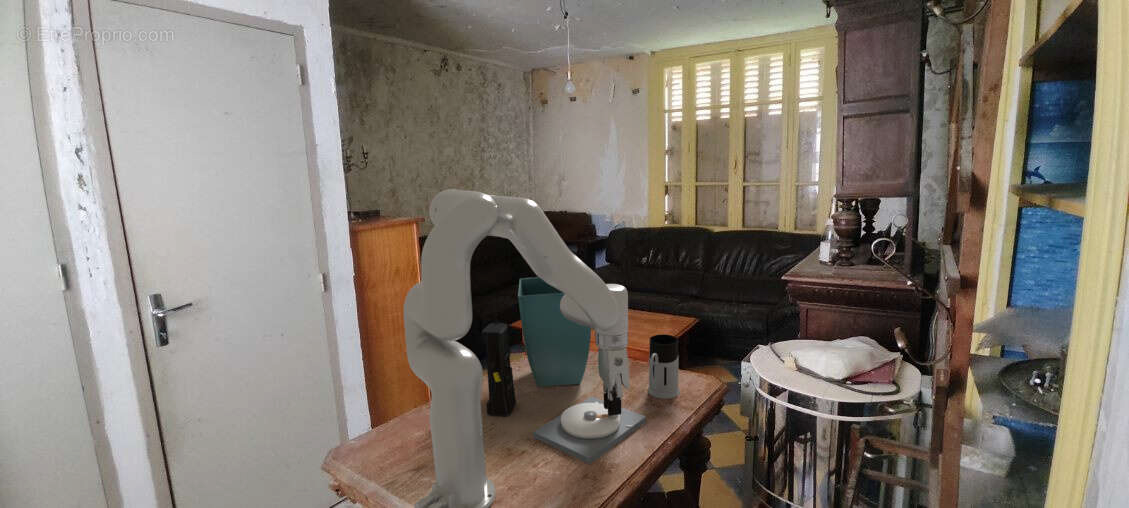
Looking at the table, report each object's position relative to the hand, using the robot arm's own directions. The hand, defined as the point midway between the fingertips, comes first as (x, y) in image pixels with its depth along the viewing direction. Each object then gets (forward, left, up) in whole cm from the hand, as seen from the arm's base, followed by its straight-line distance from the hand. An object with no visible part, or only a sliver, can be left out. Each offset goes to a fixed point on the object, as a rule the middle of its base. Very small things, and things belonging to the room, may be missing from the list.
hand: (612, 410), depth 124 cm
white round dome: (-4, +4, -3) cm, 6 cm away
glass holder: (+21, 0, -5) cm, 22 cm away
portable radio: (-11, +28, -5) cm, 30 cm away
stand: (-4, +4, -5) cm, 7 cm away
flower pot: (+13, +30, -5) cm, 33 cm away
